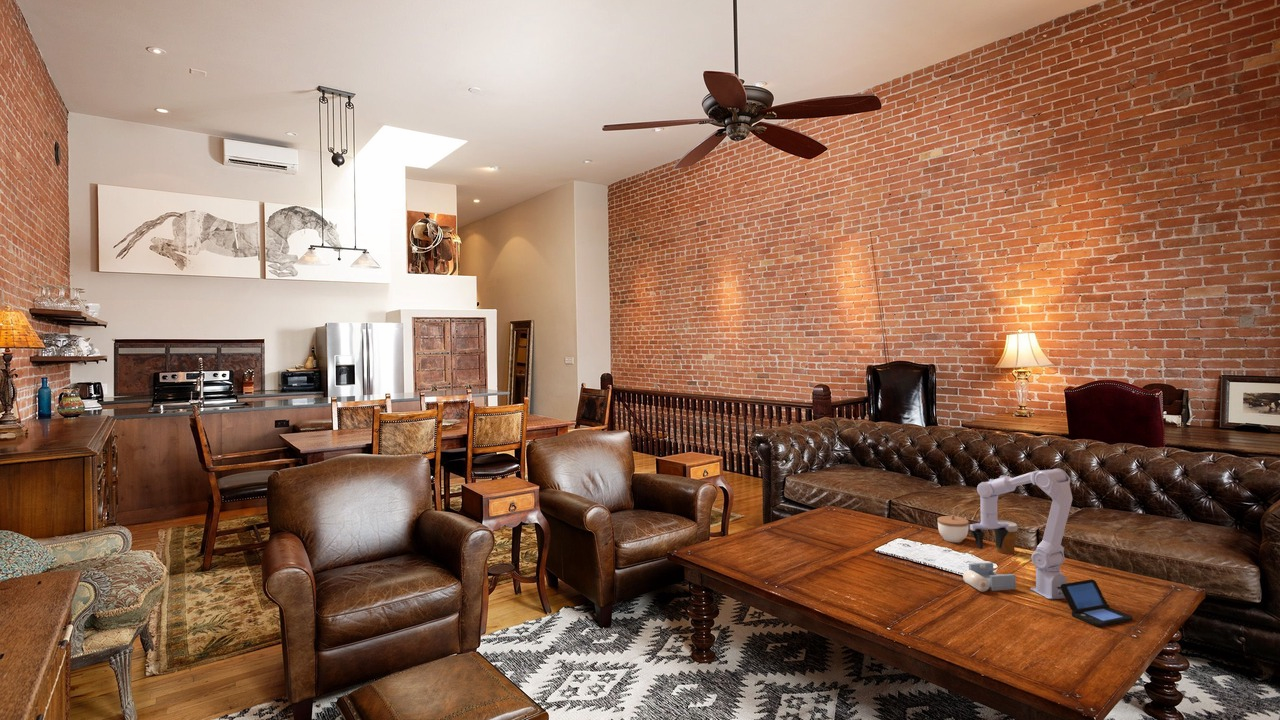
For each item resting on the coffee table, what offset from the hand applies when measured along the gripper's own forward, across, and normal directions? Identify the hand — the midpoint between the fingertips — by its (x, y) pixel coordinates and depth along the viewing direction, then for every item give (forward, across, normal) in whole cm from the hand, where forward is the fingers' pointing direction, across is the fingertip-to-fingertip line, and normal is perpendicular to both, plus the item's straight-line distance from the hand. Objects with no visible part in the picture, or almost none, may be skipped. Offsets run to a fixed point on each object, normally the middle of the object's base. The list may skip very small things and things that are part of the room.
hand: (989, 547), depth 246 cm
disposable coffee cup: (+10, -21, -21) cm, 32 cm away
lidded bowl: (+10, -9, -39) cm, 41 cm away
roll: (+10, +13, +12) cm, 21 cm away
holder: (+10, +5, +9) cm, 14 cm away
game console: (+10, -10, +40) cm, 42 cm away
